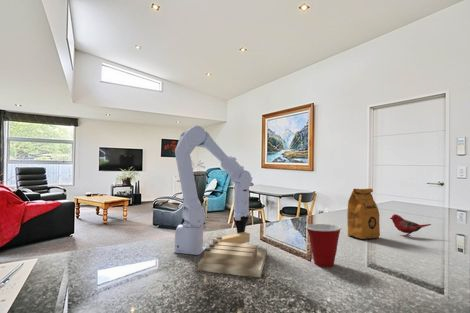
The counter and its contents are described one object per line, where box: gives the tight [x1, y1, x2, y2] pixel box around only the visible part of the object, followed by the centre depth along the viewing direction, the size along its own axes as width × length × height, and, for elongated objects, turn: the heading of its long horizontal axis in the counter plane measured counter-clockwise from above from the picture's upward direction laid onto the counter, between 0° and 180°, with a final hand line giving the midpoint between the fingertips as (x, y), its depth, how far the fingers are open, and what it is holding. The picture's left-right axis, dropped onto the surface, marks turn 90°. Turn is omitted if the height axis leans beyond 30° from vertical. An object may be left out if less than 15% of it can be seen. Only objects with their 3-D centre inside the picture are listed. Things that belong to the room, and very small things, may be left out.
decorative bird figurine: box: [389, 213, 432, 237], centre depth 114 cm, size 3×18×10 cm, turn 82°
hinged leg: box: [212, 231, 251, 244], centre depth 89 cm, size 15×3×3 cm, turn 132°
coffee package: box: [346, 188, 381, 240], centre depth 112 cm, size 10×12×22 cm
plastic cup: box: [305, 223, 342, 268], centre depth 78 cm, size 11×11×12 cm
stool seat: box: [197, 240, 268, 278], centre depth 78 cm, size 18×19×5 cm
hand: (240, 235), depth 97 cm, fingers closed
